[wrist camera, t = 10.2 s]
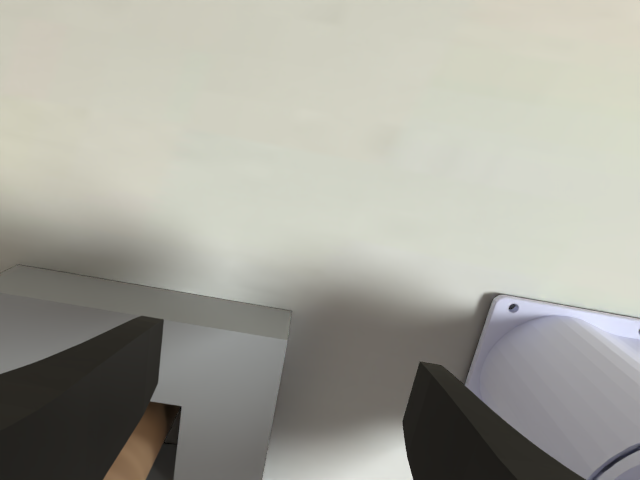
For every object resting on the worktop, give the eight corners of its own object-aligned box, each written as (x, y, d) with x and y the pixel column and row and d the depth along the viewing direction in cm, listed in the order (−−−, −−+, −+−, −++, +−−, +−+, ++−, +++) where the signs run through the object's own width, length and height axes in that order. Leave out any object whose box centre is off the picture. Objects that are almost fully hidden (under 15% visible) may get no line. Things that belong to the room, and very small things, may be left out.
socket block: (292, 311, 22) (288, 340, 19) (254, 515, 26) (245, 565, 23) (18, 264, 21) (-30, 287, 18) (21, 482, 25) (-18, 530, 22)
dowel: (184, 378, 23) (117, 508, 15) (175, 431, 24) (109, 578, 16) (118, 365, 23) (17, 490, 15) (112, 419, 24) (14, 563, 16)
